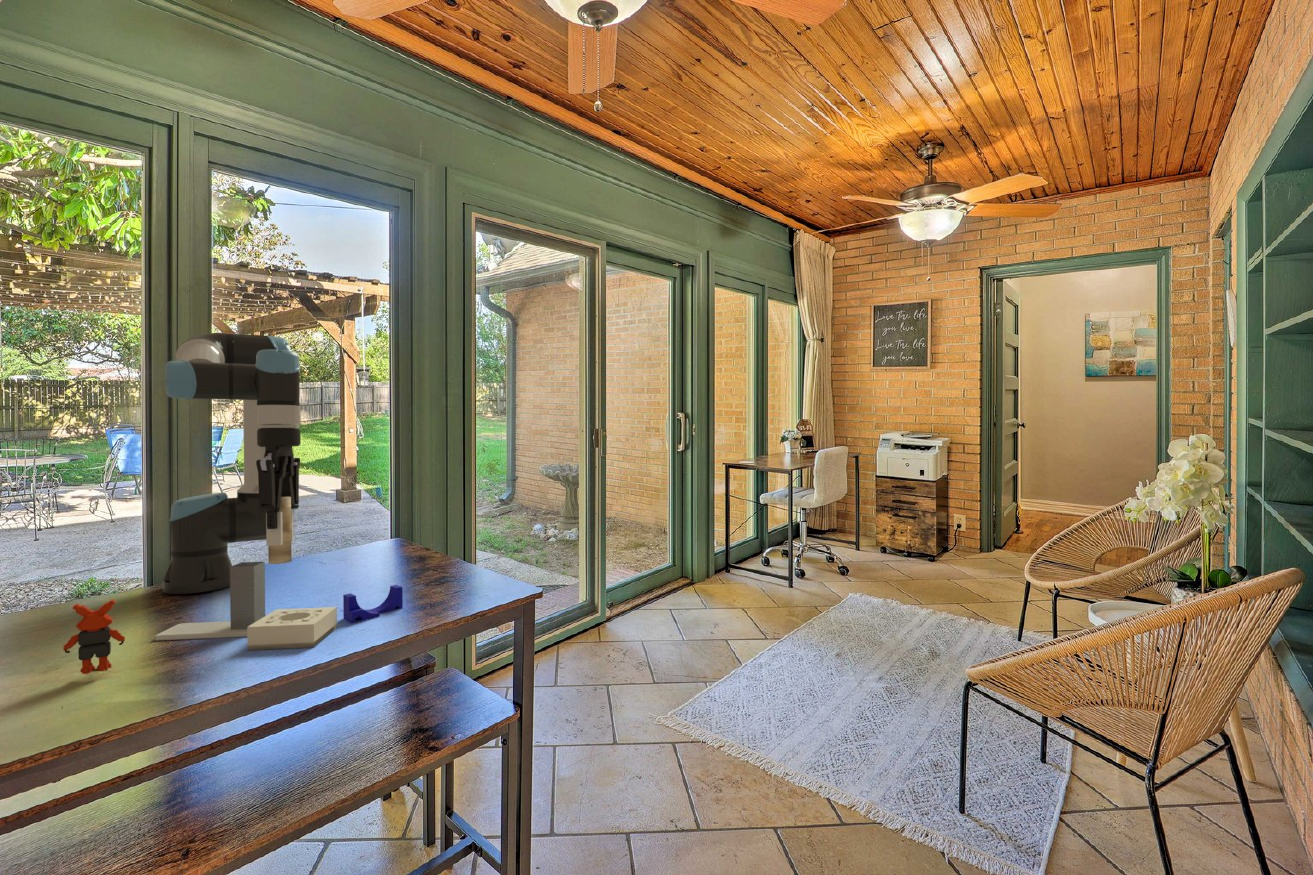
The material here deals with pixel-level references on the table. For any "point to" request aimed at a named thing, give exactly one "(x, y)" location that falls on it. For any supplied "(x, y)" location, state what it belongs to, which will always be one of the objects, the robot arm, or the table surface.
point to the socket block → (292, 628)
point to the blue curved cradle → (355, 611)
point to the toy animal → (94, 637)
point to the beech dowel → (283, 552)
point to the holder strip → (200, 631)
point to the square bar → (247, 594)
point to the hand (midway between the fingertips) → (280, 542)
